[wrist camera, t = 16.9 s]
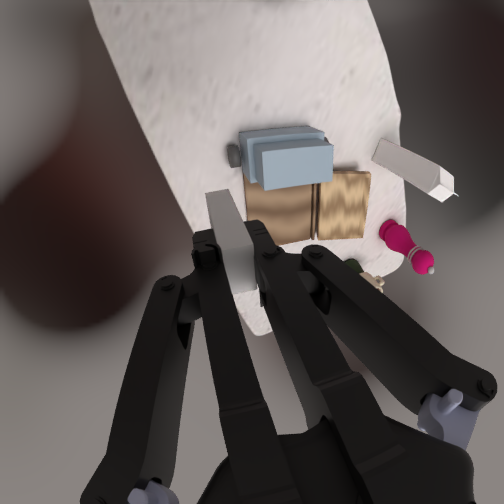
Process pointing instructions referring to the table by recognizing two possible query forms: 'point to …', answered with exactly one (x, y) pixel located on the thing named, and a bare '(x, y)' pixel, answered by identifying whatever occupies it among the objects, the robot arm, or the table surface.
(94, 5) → the table surface
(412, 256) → the pepper mill
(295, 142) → the cab
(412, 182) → the milk
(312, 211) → the flatbed
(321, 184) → the side gate
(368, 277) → the character mug
